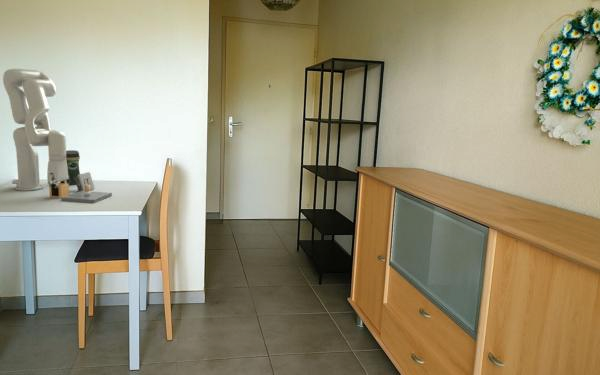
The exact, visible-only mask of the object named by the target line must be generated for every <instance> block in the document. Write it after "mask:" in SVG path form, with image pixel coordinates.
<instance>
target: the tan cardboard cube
mask: <svg viewBox="0 0 600 375" xmlns="http://www.w3.org/2000/svg"><path fill="white" fill-rule="evenodd" d="M54 184H55V183H54ZM48 187H49V188H48V189H49V190H48V191H49V198H55V199H56V198H57V199H58V198H59V199H61V197H64V196H67V195H70V192H69V191H70V190H69V189H70V188H69V187H70V185H68V184H66V183H60V182H58V186H57V188H58V192H59V196H52V191H51V187H50V185H49V186H48Z"/></svg>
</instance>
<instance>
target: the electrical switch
mask: <svg viewBox="0 0 600 375" xmlns="http://www.w3.org/2000/svg"><path fill="white" fill-rule="evenodd" d="M74 178H75V182H76V184H75V185H76V188H77V192H79V191H84V185H90V191H92V190H95V184H94V180H93V178H92V174H91V173H90V171H88V172H87V171H86V172H83V173H80V174H79V175H78V176H77V177H74ZM78 183H79V184H78Z"/></svg>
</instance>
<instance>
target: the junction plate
mask: <svg viewBox="0 0 600 375" xmlns="http://www.w3.org/2000/svg"><path fill="white" fill-rule="evenodd" d="M112 196H113V192H103V191H92V190H90V185H84V191H76V192H73V193H69V195H67V196H64V197H61V198H60V199H61V200H60V201H62V202H76V203H90V204H95V203H97V202H100V201H102V200H105V199H107V198H110V197H112Z"/></svg>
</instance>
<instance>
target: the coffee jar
mask: <svg viewBox="0 0 600 375" xmlns="http://www.w3.org/2000/svg"><path fill="white" fill-rule="evenodd" d="M80 158H81V156H80V152H79V151H78V150H75V149H74V150H72V149H71V150H66V159H67V167H68V176H69V179H68V182H67V184H68V185H69V186H72V185H74V186H75V185H76V182H75V178H74V177H77V176H78V175H79V174H81V172H80V166H79V165H80V163H79V162H80ZM62 182H63V181H62ZM78 184H79V183H78Z"/></svg>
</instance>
